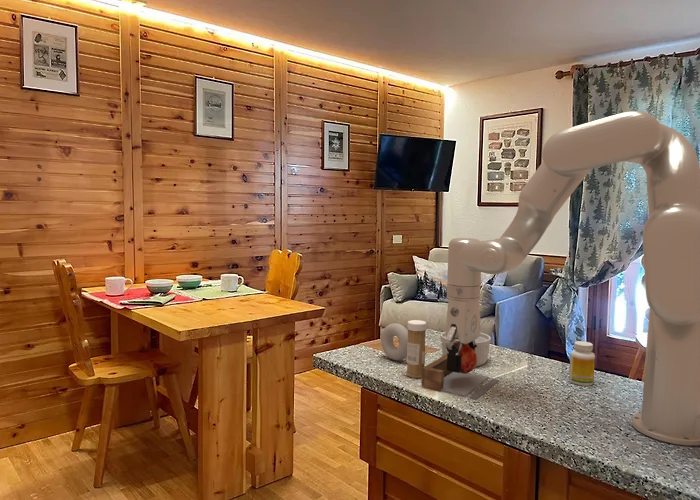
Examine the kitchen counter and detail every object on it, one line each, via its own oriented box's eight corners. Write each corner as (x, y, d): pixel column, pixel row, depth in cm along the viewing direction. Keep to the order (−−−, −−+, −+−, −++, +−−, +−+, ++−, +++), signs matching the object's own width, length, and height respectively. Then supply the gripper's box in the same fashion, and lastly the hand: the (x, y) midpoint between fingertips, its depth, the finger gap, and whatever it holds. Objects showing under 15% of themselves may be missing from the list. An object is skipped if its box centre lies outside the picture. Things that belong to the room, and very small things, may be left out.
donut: (414, 363, 136) (415, 325, 136) (405, 365, 134) (406, 327, 133) (386, 354, 144) (387, 319, 143) (377, 357, 141) (378, 321, 140)
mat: (488, 378, 126) (488, 376, 126) (465, 396, 113) (465, 395, 113) (456, 371, 130) (456, 370, 130) (429, 388, 118) (430, 386, 118)
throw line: (499, 380, 124) (499, 379, 124) (476, 399, 112) (476, 398, 112) (492, 379, 125) (492, 378, 125) (469, 397, 113) (469, 397, 113)
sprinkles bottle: (428, 376, 126) (430, 322, 125) (414, 379, 124) (416, 324, 122) (416, 371, 130) (417, 318, 129) (402, 374, 127) (403, 320, 126)
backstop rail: (466, 373, 129) (467, 356, 129) (440, 391, 116) (441, 372, 116) (448, 369, 132) (449, 352, 131) (421, 386, 119) (421, 368, 118)
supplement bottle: (565, 378, 127) (567, 340, 126) (586, 378, 127) (589, 340, 126) (575, 386, 121) (577, 346, 120) (597, 386, 122) (600, 346, 121)
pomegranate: (455, 387, 117) (491, 361, 117) (435, 361, 117) (471, 335, 117) (450, 380, 124) (483, 355, 124) (431, 355, 125) (465, 331, 124)
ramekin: (429, 359, 140) (430, 334, 139) (458, 351, 149) (459, 327, 148) (471, 372, 130) (472, 345, 130) (499, 362, 139) (500, 336, 138)
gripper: (464, 299, 110) (461, 380, 112) (492, 288, 124) (489, 360, 126) (432, 295, 114) (429, 373, 116) (462, 285, 129) (460, 355, 130)
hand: (460, 366), depth 121 cm, fingers closed on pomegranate, 7 cm apart
